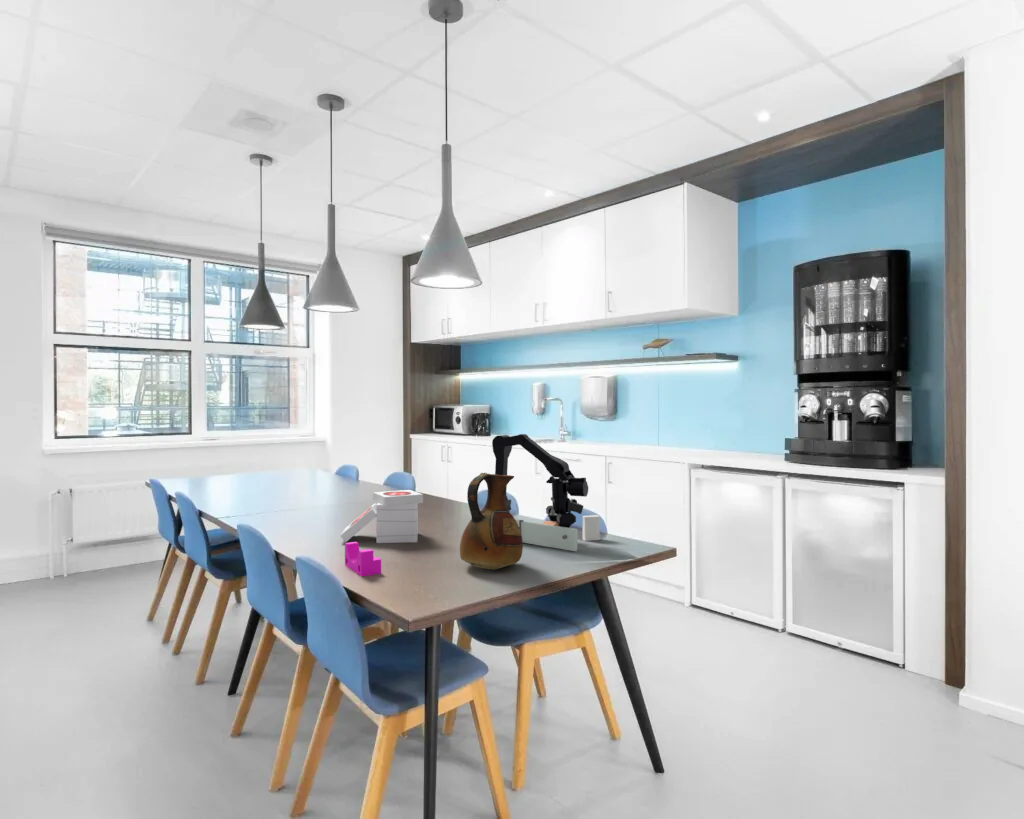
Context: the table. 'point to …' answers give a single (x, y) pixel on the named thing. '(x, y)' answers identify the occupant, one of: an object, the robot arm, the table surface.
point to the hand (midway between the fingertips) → (561, 536)
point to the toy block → (361, 560)
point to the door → (549, 535)
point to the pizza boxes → (390, 517)
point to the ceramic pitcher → (491, 527)
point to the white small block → (588, 527)
